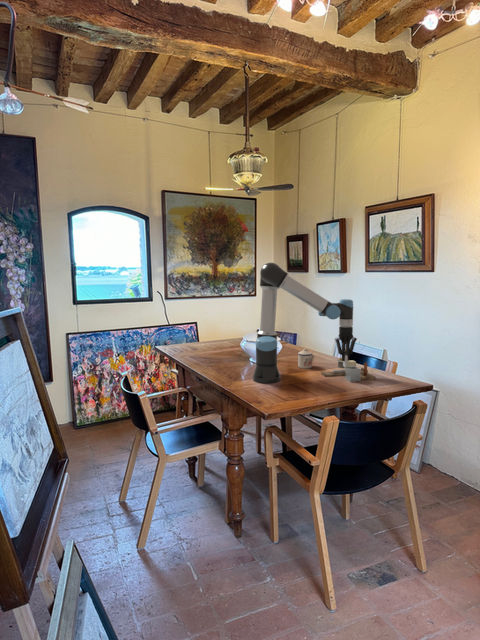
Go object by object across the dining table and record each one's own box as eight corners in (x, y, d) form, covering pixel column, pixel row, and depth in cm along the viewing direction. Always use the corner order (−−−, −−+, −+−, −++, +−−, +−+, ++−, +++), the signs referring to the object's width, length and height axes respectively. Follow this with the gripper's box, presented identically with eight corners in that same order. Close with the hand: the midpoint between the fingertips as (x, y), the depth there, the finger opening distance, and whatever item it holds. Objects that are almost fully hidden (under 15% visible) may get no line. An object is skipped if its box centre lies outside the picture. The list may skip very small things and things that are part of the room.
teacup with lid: (304, 369, 238) (305, 350, 236) (294, 366, 245) (294, 348, 244) (318, 366, 245) (318, 348, 243) (308, 364, 252) (308, 346, 251)
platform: (336, 364, 251) (337, 354, 250) (362, 369, 238) (362, 359, 238) (326, 368, 243) (326, 357, 242) (352, 373, 230) (353, 362, 229)
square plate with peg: (362, 380, 213) (362, 365, 212) (355, 376, 221) (355, 361, 220) (375, 379, 214) (375, 364, 213) (368, 375, 222) (368, 361, 221)
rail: (324, 376, 221) (325, 372, 220) (321, 374, 227) (321, 370, 226) (367, 374, 225) (367, 370, 225) (362, 371, 231) (362, 367, 231)
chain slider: (334, 373, 223) (334, 362, 222) (331, 371, 226) (332, 361, 226) (355, 371, 225) (356, 361, 224) (352, 370, 229) (352, 360, 228)
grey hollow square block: (350, 382, 209) (350, 369, 209) (345, 379, 215) (345, 366, 215) (360, 381, 210) (360, 368, 210) (355, 378, 216) (355, 366, 216)
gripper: (338, 327, 218) (337, 368, 221) (359, 326, 220) (358, 367, 223) (332, 325, 225) (332, 365, 228) (353, 325, 227) (352, 364, 230)
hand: (345, 366), depth 225 cm, fingers closed
